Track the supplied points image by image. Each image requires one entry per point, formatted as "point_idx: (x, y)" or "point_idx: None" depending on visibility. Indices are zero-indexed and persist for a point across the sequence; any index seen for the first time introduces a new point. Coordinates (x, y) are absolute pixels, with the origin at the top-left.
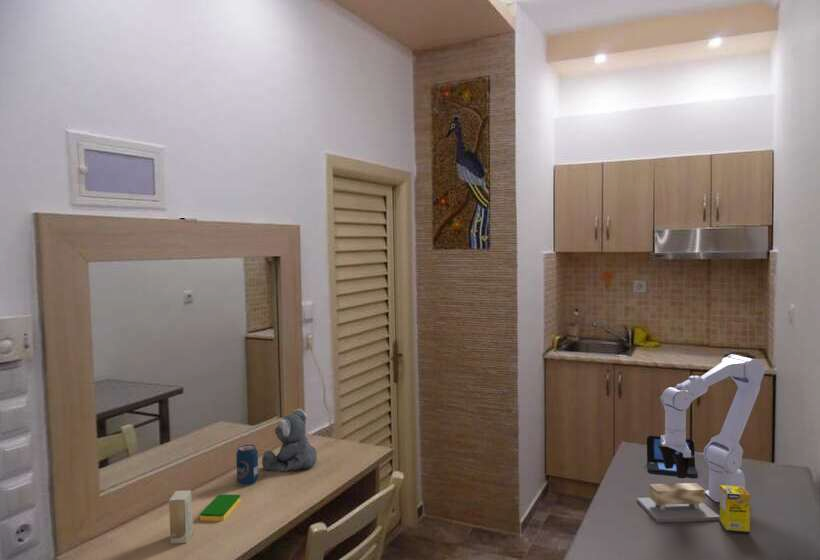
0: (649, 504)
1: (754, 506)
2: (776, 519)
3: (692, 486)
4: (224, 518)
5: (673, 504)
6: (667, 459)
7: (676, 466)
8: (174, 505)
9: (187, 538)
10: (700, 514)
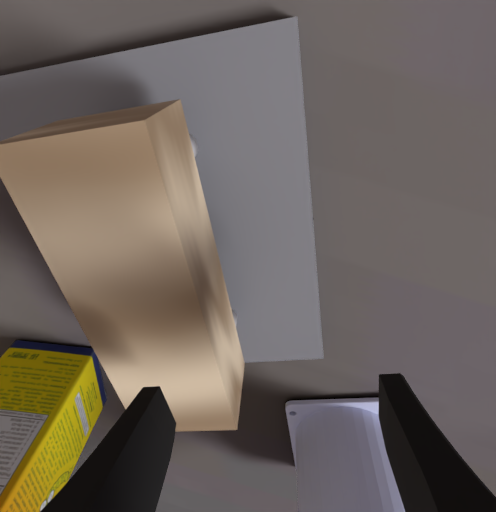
0: (186, 90)
1: (262, 470)
2: (174, 476)
3: (174, 399)
4: None
5: None
6: (411, 480)
7: (88, 490)
8: None
9: None
10: None
